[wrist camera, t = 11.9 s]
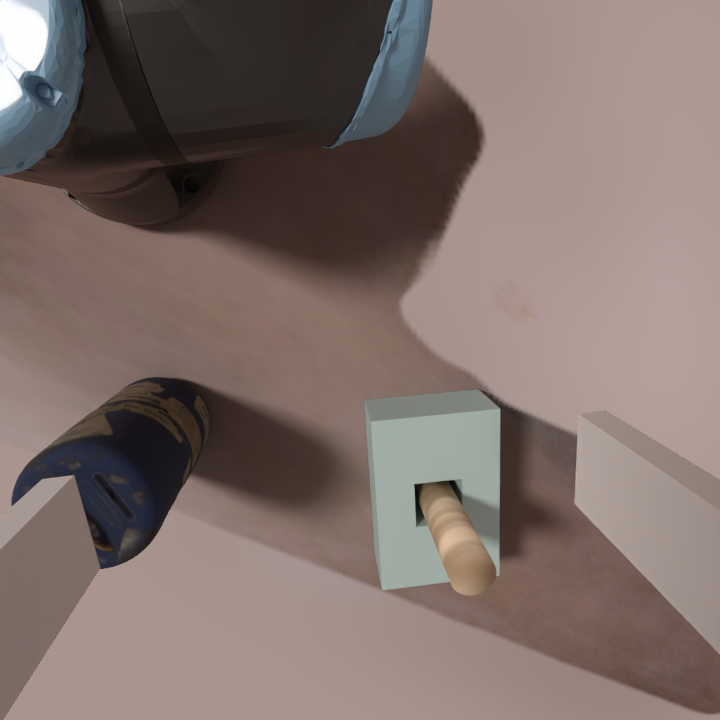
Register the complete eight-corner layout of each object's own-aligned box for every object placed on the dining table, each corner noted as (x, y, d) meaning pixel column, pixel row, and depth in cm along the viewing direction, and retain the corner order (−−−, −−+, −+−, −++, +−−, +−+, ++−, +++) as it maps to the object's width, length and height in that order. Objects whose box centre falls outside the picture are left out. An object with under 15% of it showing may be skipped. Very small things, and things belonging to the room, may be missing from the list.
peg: (408, 460, 50) (449, 557, 34) (441, 456, 50) (496, 551, 35) (409, 490, 51) (450, 598, 35) (441, 486, 51) (496, 592, 35)
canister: (195, 361, 45) (119, 435, 28) (226, 448, 48) (175, 565, 30) (98, 388, 45) (-39, 478, 28) (135, 473, 47) (30, 606, 30)
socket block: (364, 400, 48) (370, 421, 42) (478, 389, 49) (500, 408, 43) (374, 551, 52) (382, 590, 46) (479, 539, 53) (499, 575, 47)
